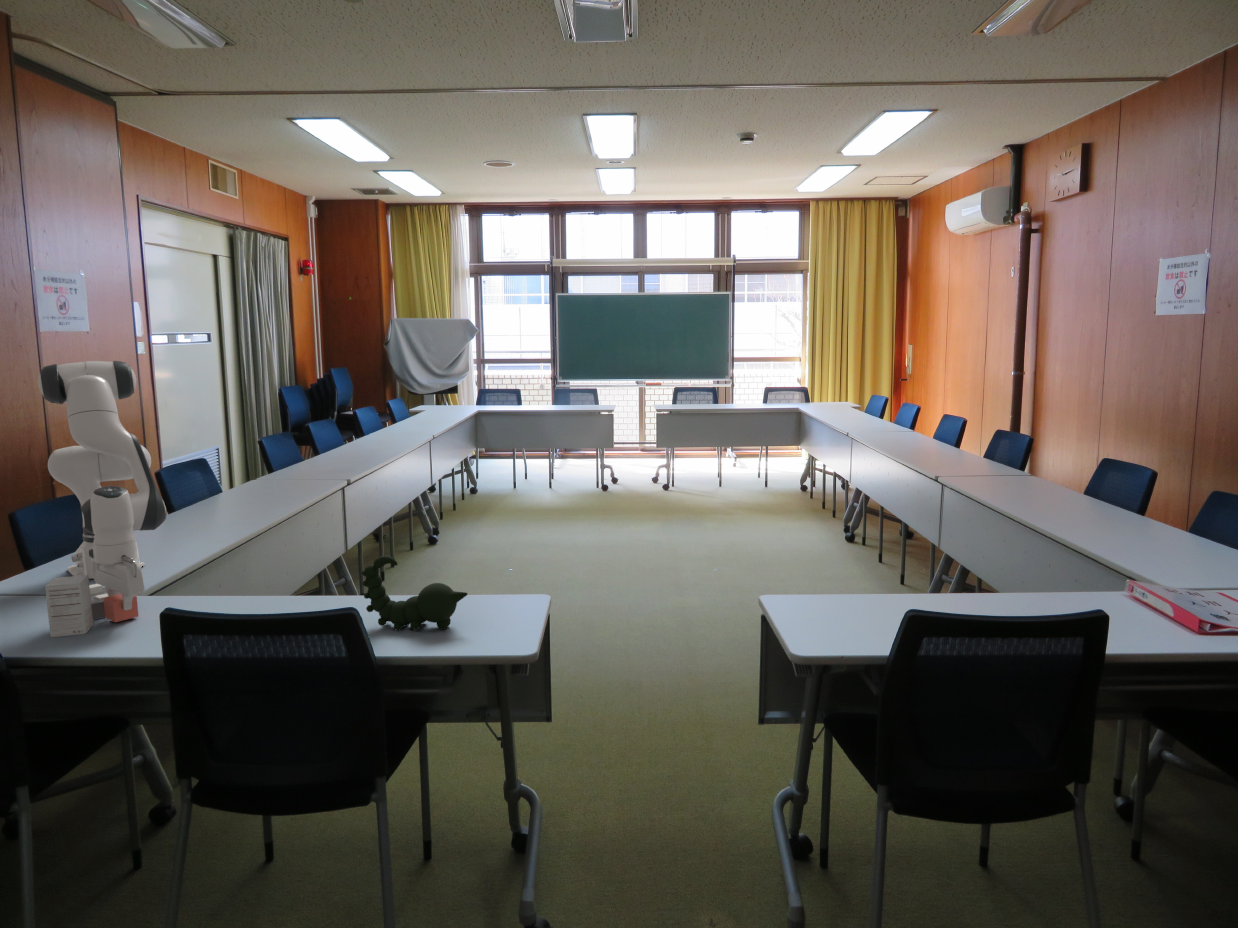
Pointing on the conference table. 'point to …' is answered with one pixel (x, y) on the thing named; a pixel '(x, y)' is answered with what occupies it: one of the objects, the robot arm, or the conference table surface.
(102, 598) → the block
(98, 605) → the block
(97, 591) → the breaker
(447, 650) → the conference table surface
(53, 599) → the supplement box
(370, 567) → the toy figurine
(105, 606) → the red cube
